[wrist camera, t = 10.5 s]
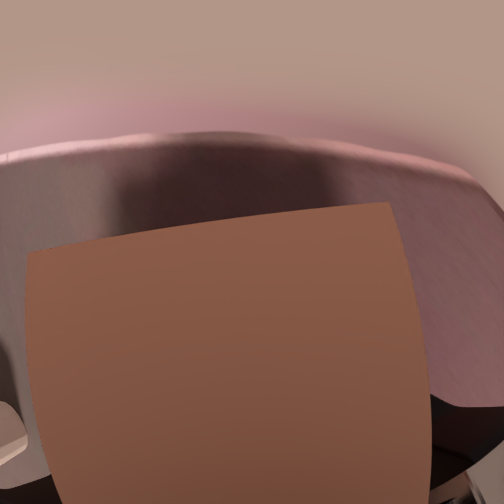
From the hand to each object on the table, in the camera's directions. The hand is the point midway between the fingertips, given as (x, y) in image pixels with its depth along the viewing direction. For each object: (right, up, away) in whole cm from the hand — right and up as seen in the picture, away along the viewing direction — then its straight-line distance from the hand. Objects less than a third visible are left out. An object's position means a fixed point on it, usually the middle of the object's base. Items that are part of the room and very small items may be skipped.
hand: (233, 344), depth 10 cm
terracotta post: (0, -3, +6) cm, 7 cm away
